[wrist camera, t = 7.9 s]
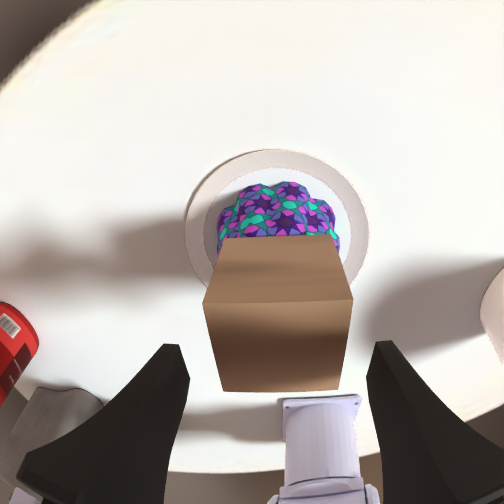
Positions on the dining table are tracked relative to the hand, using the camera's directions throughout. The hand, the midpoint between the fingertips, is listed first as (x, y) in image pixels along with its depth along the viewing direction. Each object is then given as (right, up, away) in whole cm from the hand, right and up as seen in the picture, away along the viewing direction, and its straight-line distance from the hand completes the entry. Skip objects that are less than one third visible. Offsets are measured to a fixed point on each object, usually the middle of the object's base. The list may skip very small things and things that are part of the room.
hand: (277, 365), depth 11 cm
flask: (-27, -17, +23) cm, 40 cm away
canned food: (-29, -5, +17) cm, 34 cm away
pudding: (+1, +5, +10) cm, 11 cm away
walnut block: (0, +3, +5) cm, 6 cm away
